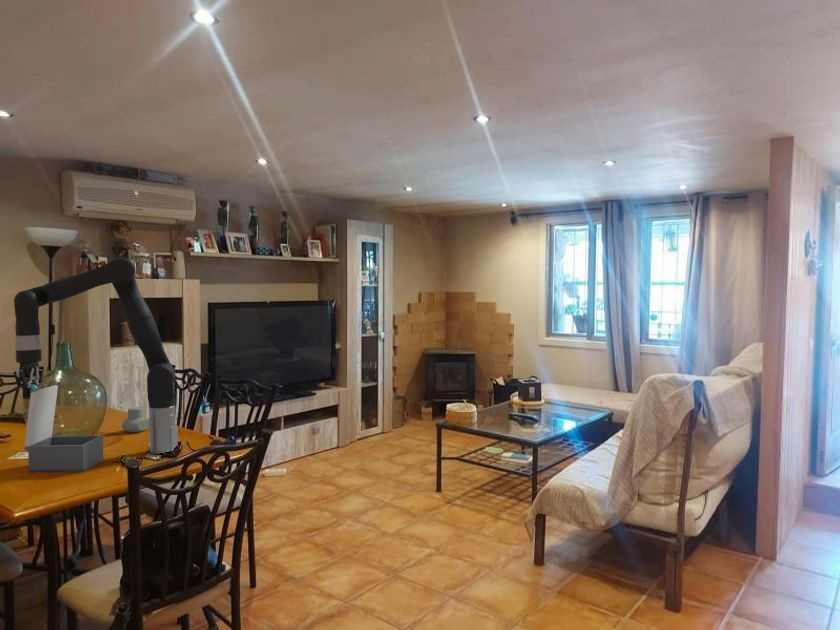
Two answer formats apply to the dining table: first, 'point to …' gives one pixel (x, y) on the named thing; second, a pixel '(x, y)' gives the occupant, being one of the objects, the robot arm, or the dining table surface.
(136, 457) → the dining table surface
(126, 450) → the dining table surface
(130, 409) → the air freshener
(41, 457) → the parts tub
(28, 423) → the tub lid
